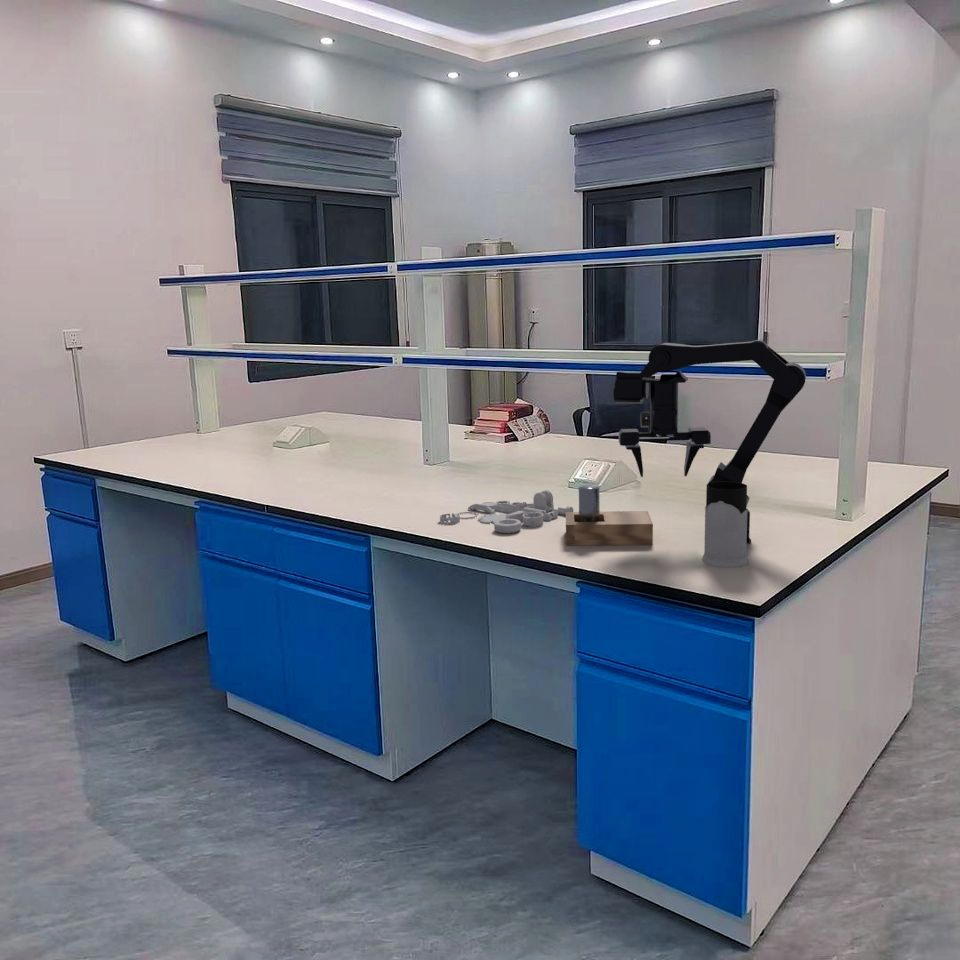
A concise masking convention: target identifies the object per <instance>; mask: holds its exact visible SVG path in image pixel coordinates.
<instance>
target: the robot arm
mask: <svg viewBox="0 0 960 960" xmlns="http://www.w3.org/2000/svg"><path fill="white" fill-rule="evenodd" d="M747 361H753V362H754V363H755V364H756V365H758V366H759V367H760V368H761V369H762V370H763V371H764V373H766V374H767V375H768V376H769V377H770V378H771V379H773V381H772V384H771V386H770V389H769V392H768V394H767V398H766V400H765V402H764V404H763V406H762V408H761V409H760V411H759V412H758V414H757V416H756V418H755V420H754V422H753V423H752V425H751V426H750V428H749V430H748V432H747V433H746V434H745V436H744V438H743V440H742V441H741V443H740V445H739V446H738V448H737V450H736V451H735V454H734V455H733V457H732V458H731V459H730V461H729V462H728V463H727V464H724V463H723V462H722V461H721V462H719V464H718V466H717V467H716V470H715V473H714V474H713V475H712V476H711V477H710V479H709V481H708V482H707V484H708V483H712V482H721V481H729V482H739V483H743V481H744V479H745V475H746V474H747V469H748V468H749V466H750V465H751V463H752V461H753V459H754V458H755V456H756V455H757V453H758V451H759V450H760V447H761V446H762V445H763V443H764V441H765V440H766V438H767V437H768V435H769V433H770V431H772V428H773V427H774V424H775V423H776V421H777V419H778V418H779V417H780V415H781V413H782V412H783V411H784V410H785V408H786V407H788V405H789V404H790V403H791V402H792V401H793V400H794V398H795V397H796V396H797V395H798V394H799V393H800V391H801V390H802V389H803V388H804V386H805V383H806V379H807V374H806V370H805V369H804V368H803V367H802V366H801V365H800V364H799V363H795V362H789V361H788V360H787V359H785V358H784V357H783V356H781V355H780V354H779V353H777V352H776V351H775V350H774V349H773V348H771V347H770V346H769V345H768V344H767V343H766V342H765V341H763V339H762V340H760V339H755V340H752V341H744V342H743V341H741V342H729V343H720V344H719V343H718V344H716V343H715V344H707V345H706V344H704V345H692V344H691V345H690V344H684V343H673V342H664V343H661V344H657V345H656V346H653V348H652V349H651V350H650V352H649V354H648V362H647V363H646V364H645V366H644V367H643V368H642V369H641V371H625V370H619V371H617V372H616V375H615V376H616V378H615V382H614V387H613V389H612V390H613V400H614V403H615V404H643V403H644V399H648V398H649V397H650V399H649V402H650V405H649V406H650V407H649V410H650V411H644V412H643V411H641V412H640V420H639V421H640V422H639V423H640V428H641V429H642V428H643V429H644V428H645V429H646V428H648V432H639V430H638V428H621V429H619V431H618V444H619V446H622V447H625V449H626V450H628V451H631V452H632V455H633V457H634V458H635V462H636V465H637V469H638V472H639V474H640V475H639V476H640V477H641V478H644V467H643V466H644V465H643V459H642V458H643V456H642V449H641V445H640V442H666V441H671V442H672V441H686V442H685V444H686V445H685V446H686V447H685V449H686V451H685V458H684V466H683V475H684V477H687V476H688V474H689V471H690V469H691V466H692V463H693V461H694V460H695V457H696V456H697V454H698V452H699V450H700V449H705V445H710V444H711V439H712V435H711V431H709V430H708V429H707V428H706V427H704V426H703V427H701V426H699V427H693V426H692V427H688V429H687V431H679V430H678V429H679V428H678V427H679V425H678V424H679V423H678V422H679V384H680V383H681V384H684V383H686V382H688V381H689V378H688V377H687V376H686V375H685V374H684V373H683V372H682V370H679V369H682V368H683V369H684V368H687V367H690V366H691V367H692V366H694V365H695V366H696V365H705V364H706V365H707V364H719V363H720V364H721V363H733V362H747ZM676 370H678V371H676ZM672 371H676V372H675V373H669V374H668V373H667V372H672ZM658 373H661V375H660V377H659V378H651V377H653V376H655V375H656V374H658ZM649 383H650V384H649ZM649 393H650V395H649ZM749 501H750V496H748V495H747V507H746V510H747V542H746V544H747V543H752V539H751V537H750V528H751V526H750V523H751V522H750V520H751V512H750V510H749V509H748V504H749Z"/></svg>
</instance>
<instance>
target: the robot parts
mask: <svg viewBox="0 0 960 960" xmlns="http://www.w3.org/2000/svg"><path fill="white" fill-rule="evenodd" d="M499 505H501V506H499ZM554 505H555V504H554V496H553V494H552V491H550V490H547V489H546V490H543V491H541V492H536V493H535V494H534V495H533V503H527V502H525V501H523V502H520V501H519V502H518V501H515V502H510V501H508V500H499V501H495V502H494V501H493V502H492V501H489V502H488V501H486V502H482V503H474V504H471V505H469V506H468V508H467V510H468V509H470V510H469V511H463V512H458V513H443V514H441V515H440V516H439V522H440V523H439V524H443V525H455V524H454V523H456V524H459V523H460V522H461V520H469V519H468V518H470V519H476V518H477V520H478V522H479V523H481V524H485V523H486V524H485V525H491V524H492V525H493V528H494V531H496V532H498V533H500V534H514V533H517V532H519V531H521V529H522V522H523V526H524V527H529V528H532V527H533V528H535V527H541V526H543V525H544V521H550V520H551V521H552V520H554V519H558V517H559V515H562V516H566V512H574V508H573V506H569V505H568V506H566V507H557V509H555V508H554ZM475 510H476V511H483V512H484V513H487V514H485V515H482V516H478V517H477V515H479V513H477V512H473V511H475ZM496 510H497V511H496ZM496 512H501V513H499V514H497V513H496ZM502 512H503V513H502ZM461 513H474V514H473V516H469V517H466V516H465V517H462V516H460V515H462V514H461ZM494 513H495V514H494ZM505 513H508V514H505ZM459 514H460V515H459ZM475 514H476V515H475ZM475 517H476V518H475ZM460 518H462V519H460ZM551 521H550V522H551ZM458 522H459V523H458ZM490 523H491V524H490Z"/></svg>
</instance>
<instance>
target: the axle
mask: <svg viewBox="0 0 960 960" xmlns="http://www.w3.org/2000/svg"><path fill="white" fill-rule="evenodd" d="M600 503H601V502H600V487H599V486H597V485H581V486H578V512H579V522H600V512H601V510H600Z"/></svg>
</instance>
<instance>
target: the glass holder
mask: <svg viewBox="0 0 960 960" xmlns="http://www.w3.org/2000/svg"><path fill="white" fill-rule="evenodd" d="M705 494H706V496H705V497H706V498H705V499H706V500H705V502H706V503H705V504H706V506H705V507H704V553H703V555H702V558H701V561H702V562H703V563H704V564H706V565H709V566H712V567H717V568H738V567H740V568H741V567H742V566H746V565H747V564H749V559H748V557H747V556H748V555H747V543H746V542H747V510H746V509H747V508H748V505H747V496H748V485H747V484H745V483H743V482H742V483H739V482H729V481H721V482H712V483H708V482H707V484H706V493H705ZM746 507H747V508H746Z"/></svg>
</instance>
